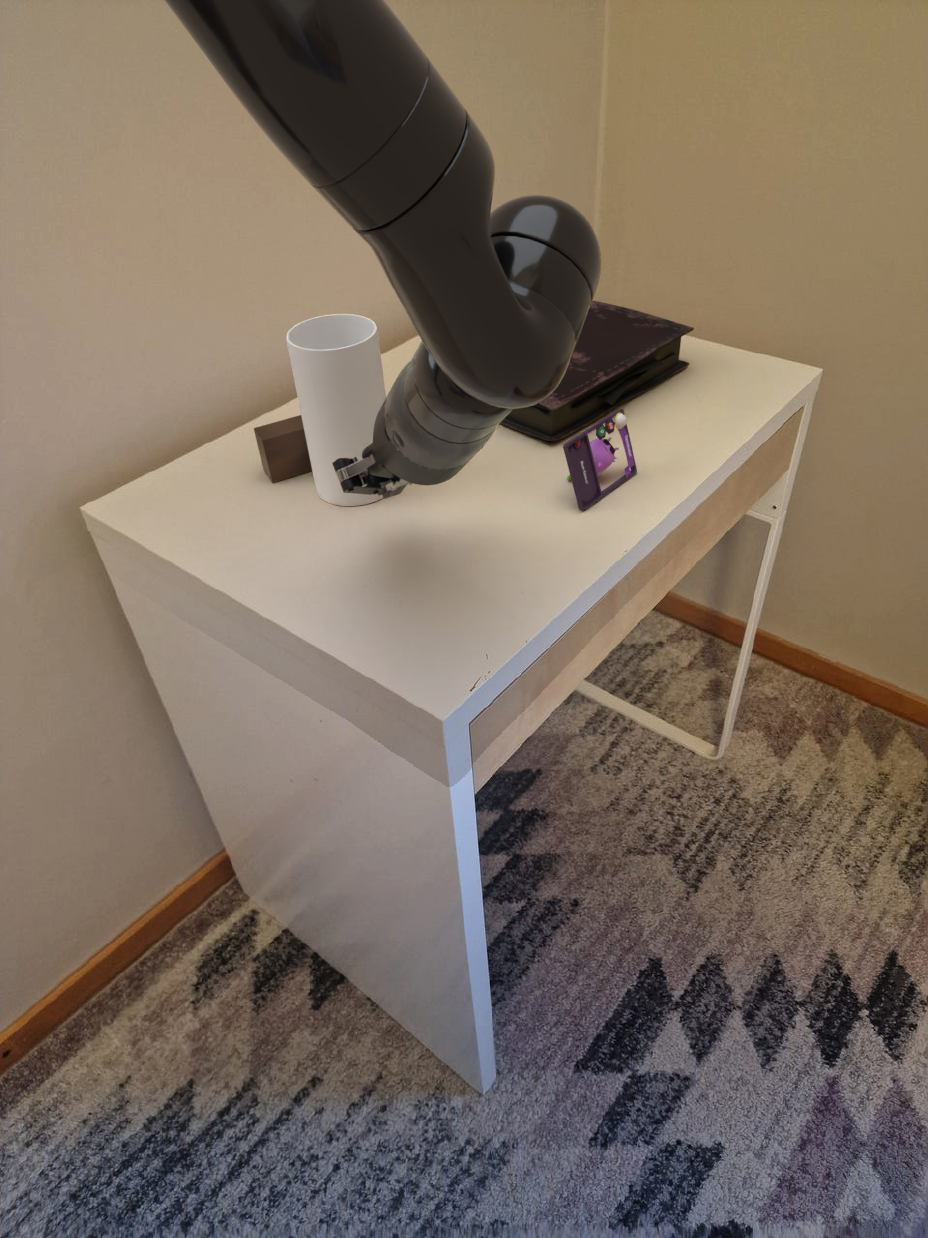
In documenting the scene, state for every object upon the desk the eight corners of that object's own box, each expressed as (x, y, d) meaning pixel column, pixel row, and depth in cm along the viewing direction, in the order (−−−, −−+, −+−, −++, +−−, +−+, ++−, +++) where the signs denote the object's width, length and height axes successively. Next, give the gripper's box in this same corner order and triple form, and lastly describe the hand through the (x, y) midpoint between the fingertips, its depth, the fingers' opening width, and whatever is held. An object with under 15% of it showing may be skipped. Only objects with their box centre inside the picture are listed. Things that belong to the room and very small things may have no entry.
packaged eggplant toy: (571, 444, 77) (629, 407, 82) (530, 445, 81) (587, 409, 86) (588, 512, 80) (643, 472, 85) (547, 509, 84) (602, 471, 89)
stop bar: (272, 483, 88) (262, 440, 85) (263, 470, 90) (253, 427, 87) (395, 445, 93) (390, 403, 89) (384, 434, 95) (379, 392, 91)
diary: (437, 398, 100) (433, 358, 97) (574, 330, 113) (575, 292, 110) (558, 450, 90) (559, 407, 87) (694, 369, 102) (700, 328, 99)
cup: (410, 471, 88) (393, 319, 78) (370, 513, 83) (346, 355, 72) (343, 457, 91) (318, 308, 81) (300, 496, 86) (267, 343, 75)
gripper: (499, 345, 62) (437, 427, 79) (330, 391, 58) (302, 468, 74) (537, 440, 62) (467, 503, 79) (370, 493, 58) (333, 548, 74)
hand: (386, 486), depth 77 cm, fingers closed
